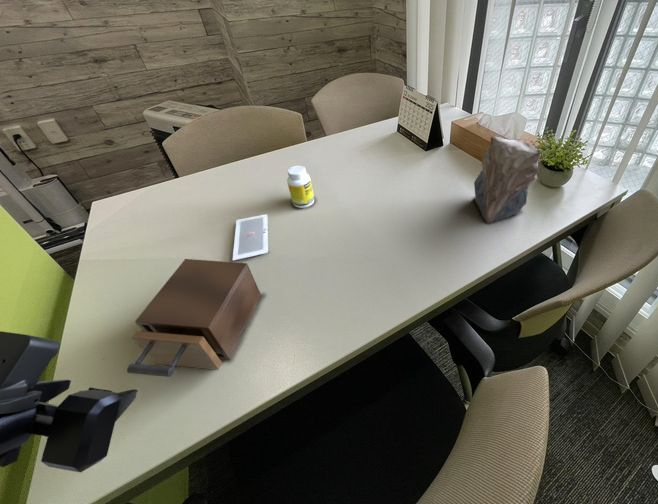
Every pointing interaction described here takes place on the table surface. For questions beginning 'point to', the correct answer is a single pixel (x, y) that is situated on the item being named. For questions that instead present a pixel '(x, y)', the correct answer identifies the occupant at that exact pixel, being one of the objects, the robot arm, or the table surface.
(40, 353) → the robot arm
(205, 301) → the cabinet
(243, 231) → the touchpad
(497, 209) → the brown grey rock
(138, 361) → the drawer
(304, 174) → the pill bottle
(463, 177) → the table surface
